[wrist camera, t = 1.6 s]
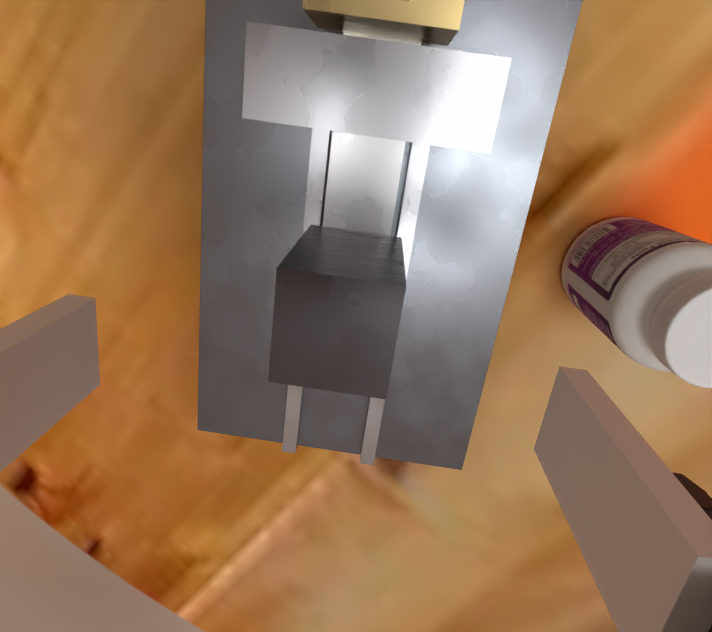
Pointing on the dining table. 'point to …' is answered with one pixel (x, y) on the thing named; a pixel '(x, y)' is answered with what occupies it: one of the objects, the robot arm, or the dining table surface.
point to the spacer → (390, 18)
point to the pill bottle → (646, 293)
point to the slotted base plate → (411, 216)
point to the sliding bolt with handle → (344, 276)
